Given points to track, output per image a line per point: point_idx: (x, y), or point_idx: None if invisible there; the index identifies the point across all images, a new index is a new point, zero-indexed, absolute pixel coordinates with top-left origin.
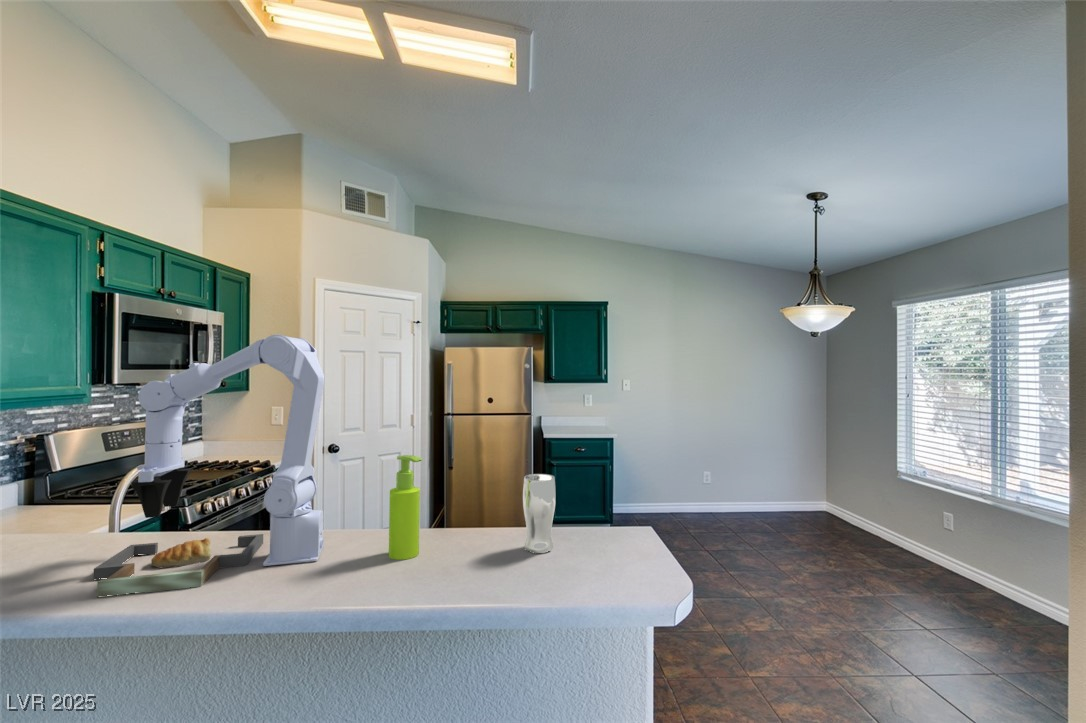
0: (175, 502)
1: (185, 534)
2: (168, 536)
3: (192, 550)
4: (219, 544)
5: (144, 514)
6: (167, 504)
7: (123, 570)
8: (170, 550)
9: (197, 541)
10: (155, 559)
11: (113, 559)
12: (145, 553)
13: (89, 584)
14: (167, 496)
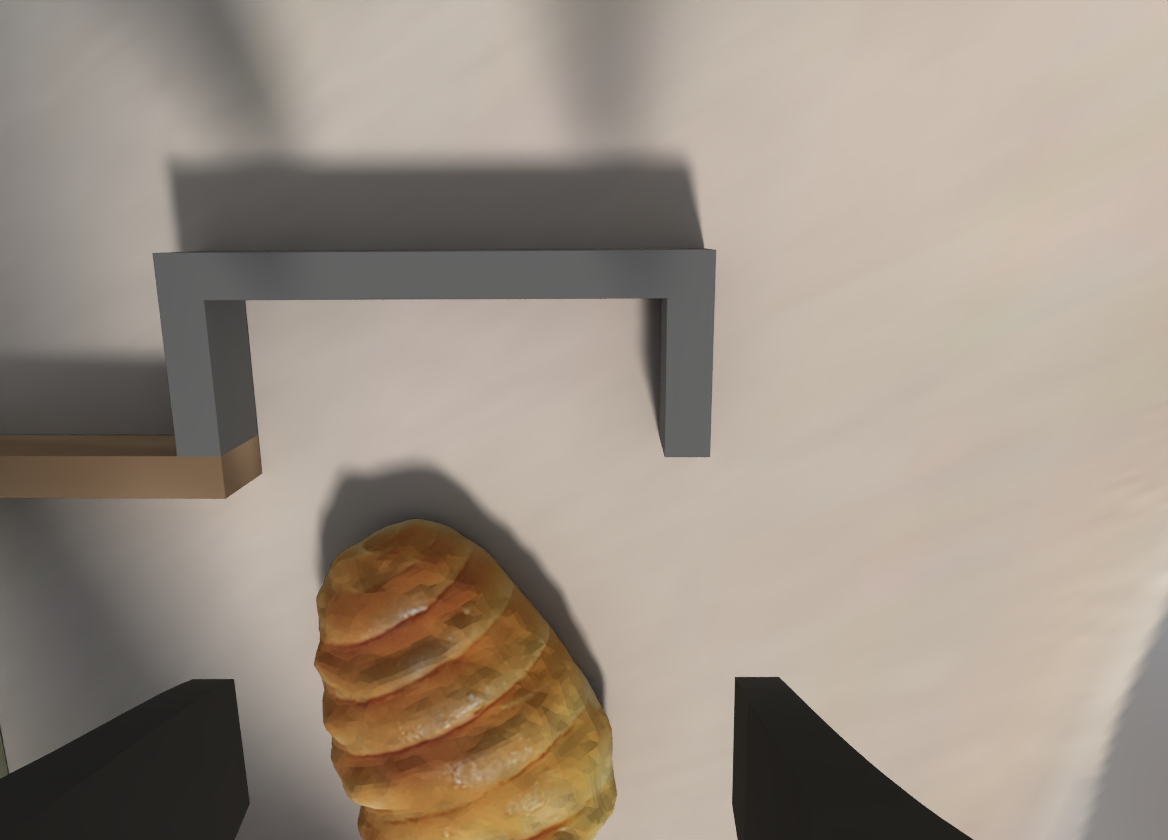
0: (741, 833)
1: (1155, 463)
2: (1152, 339)
3: (366, 813)
4: None
5: (164, 692)
6: (742, 728)
7: (80, 493)
8: (364, 683)
9: (494, 822)
10: (329, 585)
11: (342, 296)
12: (661, 372)
13: (129, 266)
14: (772, 806)
